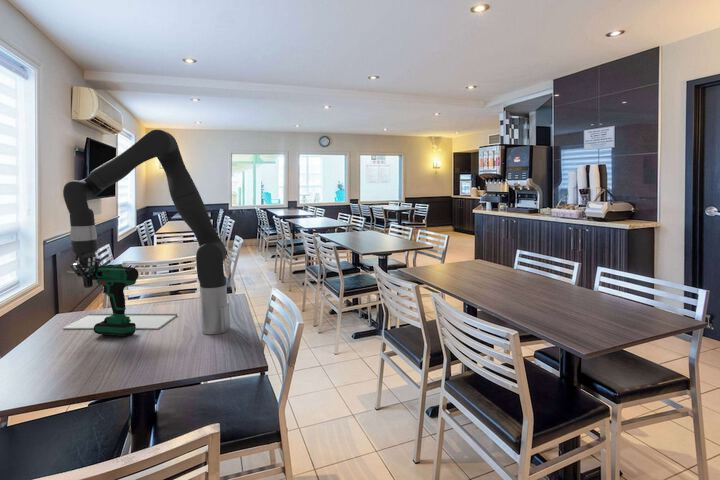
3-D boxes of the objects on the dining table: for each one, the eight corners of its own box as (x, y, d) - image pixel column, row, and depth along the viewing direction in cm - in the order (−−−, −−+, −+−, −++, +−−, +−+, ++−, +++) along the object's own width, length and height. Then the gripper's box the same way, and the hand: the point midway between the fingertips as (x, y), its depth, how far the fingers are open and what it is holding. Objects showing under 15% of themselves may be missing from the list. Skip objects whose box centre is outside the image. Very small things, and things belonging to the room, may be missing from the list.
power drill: (125, 336, 144) (129, 265, 145) (56, 331, 150) (60, 262, 151) (136, 334, 150) (140, 265, 151) (69, 329, 155) (74, 262, 157)
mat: (177, 315, 170) (176, 313, 170) (157, 329, 155) (157, 326, 154) (90, 315, 171) (90, 313, 171) (62, 329, 155) (62, 326, 155)
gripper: (82, 241, 137) (86, 292, 139) (106, 236, 150) (110, 282, 152) (59, 241, 137) (64, 292, 139) (85, 236, 150) (90, 282, 152)
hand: (88, 287), depth 145 cm, fingers closed
